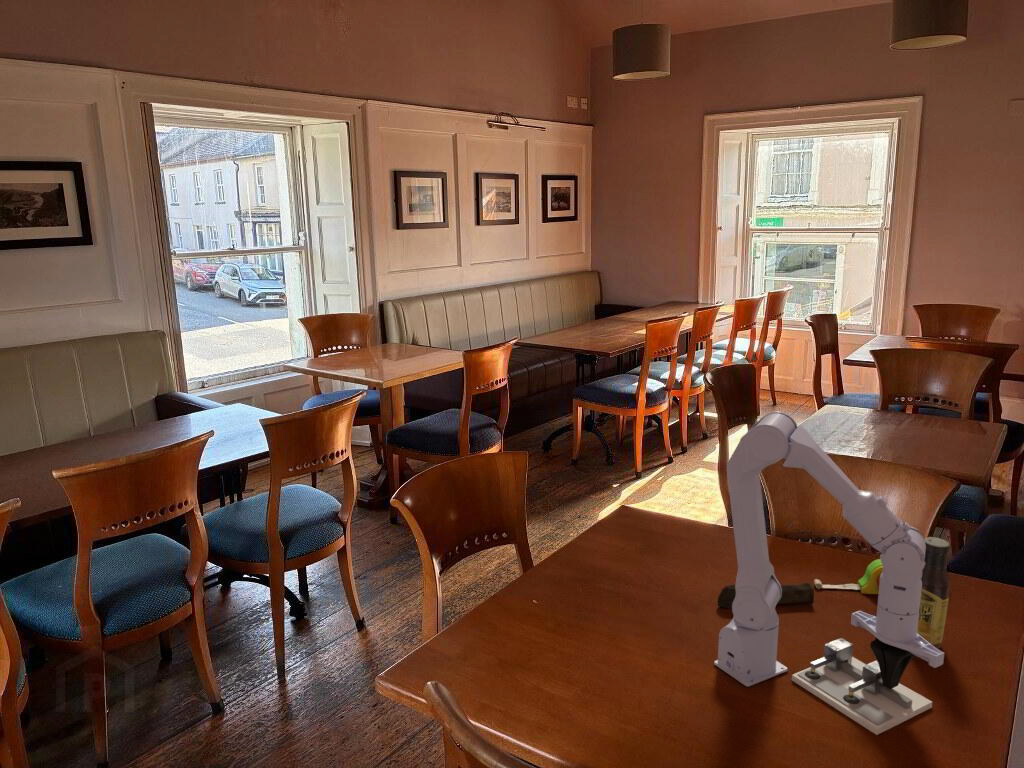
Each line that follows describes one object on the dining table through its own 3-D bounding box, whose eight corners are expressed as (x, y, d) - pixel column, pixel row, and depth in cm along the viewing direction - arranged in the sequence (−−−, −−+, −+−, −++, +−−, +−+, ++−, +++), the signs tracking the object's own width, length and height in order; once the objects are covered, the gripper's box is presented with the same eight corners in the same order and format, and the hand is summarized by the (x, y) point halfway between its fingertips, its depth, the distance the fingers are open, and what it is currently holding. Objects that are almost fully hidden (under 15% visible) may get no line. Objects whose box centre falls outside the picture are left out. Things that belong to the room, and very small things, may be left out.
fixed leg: (816, 679, 127) (818, 658, 126) (805, 671, 129) (806, 651, 128) (851, 664, 131) (853, 644, 130) (839, 657, 133) (841, 637, 132)
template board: (876, 735, 115) (878, 721, 115) (791, 680, 129) (792, 668, 129) (931, 707, 122) (933, 695, 121) (844, 657, 135) (845, 646, 135)
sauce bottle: (894, 638, 141) (904, 536, 137) (920, 631, 143) (931, 530, 139) (924, 657, 135) (936, 550, 131) (951, 649, 137) (963, 544, 133)
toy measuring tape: (920, 600, 155) (923, 569, 153) (817, 594, 158) (819, 564, 156) (909, 585, 161) (912, 555, 159) (810, 580, 164) (812, 550, 162)
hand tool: (806, 597, 157) (807, 576, 156) (814, 607, 153) (816, 585, 152) (713, 602, 156) (714, 580, 155) (719, 611, 152) (720, 590, 151)
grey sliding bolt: (855, 703, 121) (857, 681, 120) (842, 695, 123) (844, 674, 122) (890, 687, 125) (892, 666, 124) (877, 679, 127) (879, 658, 126)
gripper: (960, 620, 115) (950, 701, 118) (873, 580, 128) (867, 655, 130) (930, 633, 112) (921, 716, 115) (844, 591, 124) (838, 667, 127)
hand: (890, 685), depth 122 cm, fingers closed
